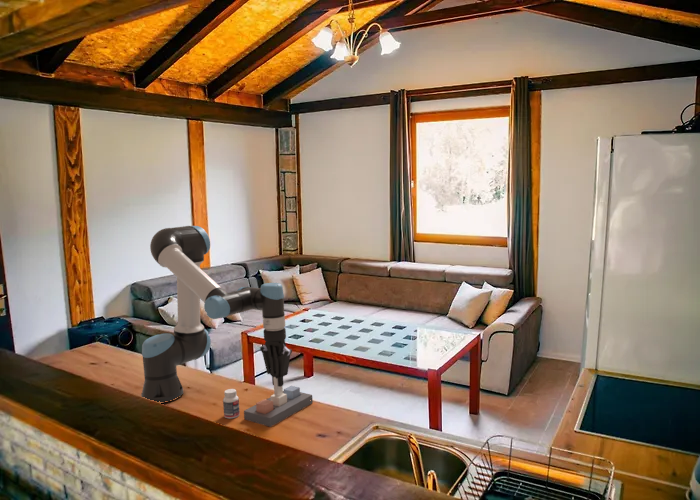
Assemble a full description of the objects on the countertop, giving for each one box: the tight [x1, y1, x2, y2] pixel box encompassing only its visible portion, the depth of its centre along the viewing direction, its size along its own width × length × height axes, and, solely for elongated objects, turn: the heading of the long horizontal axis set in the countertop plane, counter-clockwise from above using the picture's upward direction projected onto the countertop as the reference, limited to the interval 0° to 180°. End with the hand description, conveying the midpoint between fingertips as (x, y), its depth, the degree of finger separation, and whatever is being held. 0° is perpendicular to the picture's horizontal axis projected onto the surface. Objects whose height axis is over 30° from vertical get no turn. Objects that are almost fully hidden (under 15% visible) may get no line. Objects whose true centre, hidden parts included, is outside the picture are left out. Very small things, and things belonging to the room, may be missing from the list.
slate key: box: [283, 385, 301, 399], centre depth 188 cm, size 4×4×4 cm
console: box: [243, 390, 314, 428], centre depth 182 cm, size 12×22×3 cm, turn 146°
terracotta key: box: [255, 398, 274, 414], centre depth 176 cm, size 4×4×4 cm
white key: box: [269, 393, 287, 407], centre depth 182 cm, size 4×4×4 cm
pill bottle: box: [222, 388, 240, 420], centre depth 180 cm, size 5×5×9 cm
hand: (278, 394), depth 182 cm, fingers closed
